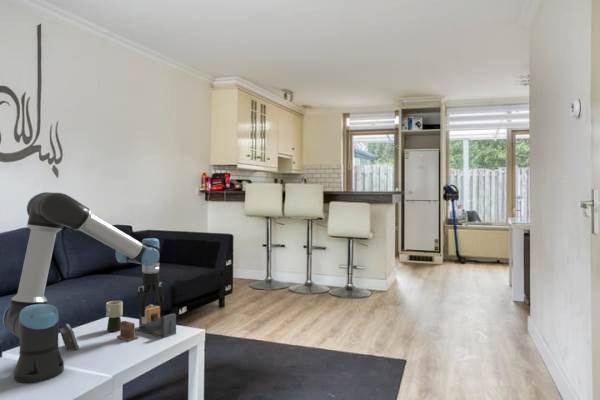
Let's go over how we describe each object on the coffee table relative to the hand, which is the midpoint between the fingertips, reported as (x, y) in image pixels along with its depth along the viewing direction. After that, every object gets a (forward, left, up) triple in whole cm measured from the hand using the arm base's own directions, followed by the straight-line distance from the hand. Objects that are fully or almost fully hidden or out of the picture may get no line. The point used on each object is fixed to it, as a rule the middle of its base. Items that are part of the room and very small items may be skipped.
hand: (150, 321), depth 198 cm
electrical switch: (-32, +10, -5) cm, 34 cm away
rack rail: (0, -3, -4) cm, 5 cm away
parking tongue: (-12, 0, -4) cm, 13 cm away
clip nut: (0, 0, +1) cm, 1 cm away
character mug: (-8, +15, -5) cm, 18 cm away
